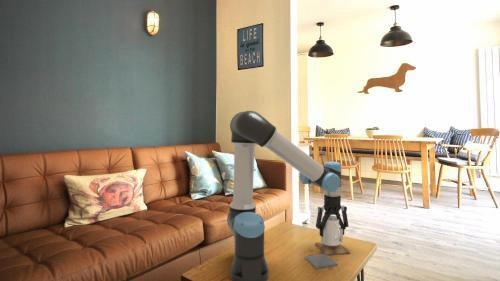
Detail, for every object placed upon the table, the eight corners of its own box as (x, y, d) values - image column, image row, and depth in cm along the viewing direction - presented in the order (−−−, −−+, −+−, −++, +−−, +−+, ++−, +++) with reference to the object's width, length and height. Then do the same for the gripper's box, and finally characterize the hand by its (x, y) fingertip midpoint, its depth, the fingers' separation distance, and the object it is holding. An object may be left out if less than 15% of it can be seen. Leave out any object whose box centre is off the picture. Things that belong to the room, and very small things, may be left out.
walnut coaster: (324, 255, 128) (324, 253, 128) (314, 244, 140) (314, 243, 140) (349, 253, 130) (349, 252, 130) (337, 243, 142) (337, 241, 142)
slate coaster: (316, 269, 117) (316, 267, 117) (304, 258, 126) (304, 256, 126) (337, 265, 120) (337, 263, 120) (324, 254, 129) (324, 253, 129)
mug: (346, 248, 130) (347, 222, 130) (329, 249, 129) (329, 223, 128) (334, 238, 142) (334, 214, 141) (318, 239, 140) (318, 215, 139)
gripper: (314, 197, 129) (313, 247, 130) (357, 195, 132) (356, 244, 133) (308, 193, 136) (308, 240, 137) (349, 192, 139) (348, 237, 140)
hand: (331, 242), depth 135 cm, fingers closed on mug, 8 cm apart
